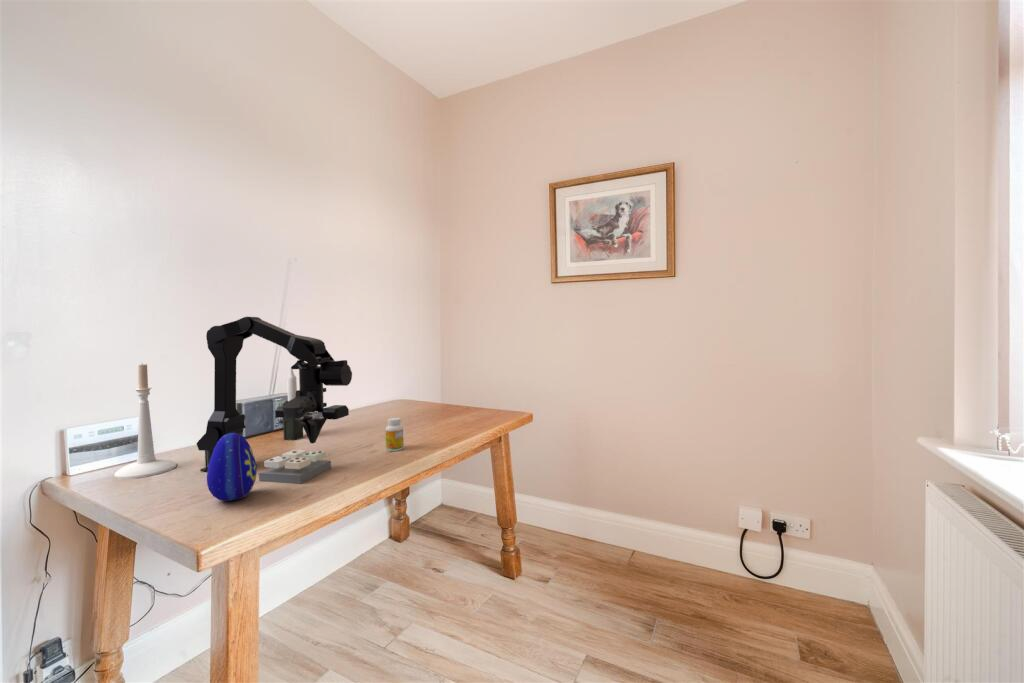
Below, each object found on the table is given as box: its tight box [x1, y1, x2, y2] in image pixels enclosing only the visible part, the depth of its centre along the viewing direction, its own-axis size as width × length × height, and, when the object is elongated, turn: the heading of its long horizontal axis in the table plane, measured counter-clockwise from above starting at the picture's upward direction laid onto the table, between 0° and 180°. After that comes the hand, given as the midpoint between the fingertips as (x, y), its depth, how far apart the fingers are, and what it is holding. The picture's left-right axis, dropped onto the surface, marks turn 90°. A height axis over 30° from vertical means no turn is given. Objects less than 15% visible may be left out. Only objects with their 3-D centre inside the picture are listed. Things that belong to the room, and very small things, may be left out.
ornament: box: [206, 433, 258, 502], centre depth 93 cm, size 11×9×15 cm
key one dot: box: [281, 449, 307, 459], centre depth 113 cm, size 4×4×2 cm
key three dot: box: [301, 450, 326, 462], centre depth 111 cm, size 4×4×2 cm
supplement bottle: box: [385, 417, 405, 452], centre depth 131 cm, size 5×5×10 cm
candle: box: [282, 368, 304, 441], centre depth 146 cm, size 5×5×25 cm
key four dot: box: [285, 457, 311, 469], centre depth 106 cm, size 4×4×2 cm
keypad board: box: [258, 459, 332, 485], centre depth 109 cm, size 12×12×2 cm
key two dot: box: [263, 455, 291, 468], centre depth 107 cm, size 4×4×2 cm
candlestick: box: [114, 363, 177, 480], centre depth 113 cm, size 13×13×30 cm
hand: (312, 443), depth 111 cm, fingers closed
